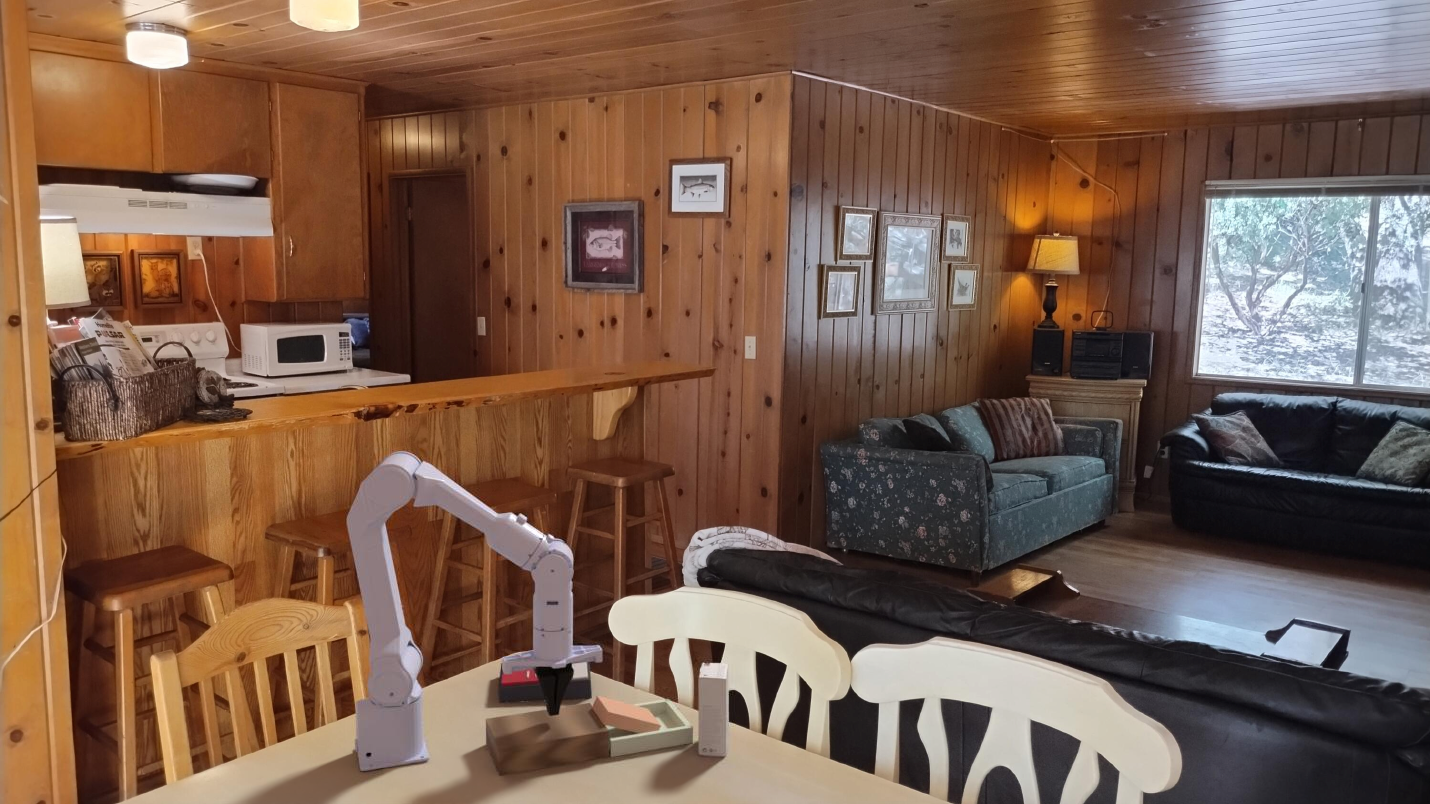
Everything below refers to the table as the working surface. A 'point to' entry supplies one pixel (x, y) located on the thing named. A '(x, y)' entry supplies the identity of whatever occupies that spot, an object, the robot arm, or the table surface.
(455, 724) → the table surface
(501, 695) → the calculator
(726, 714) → the skincare box
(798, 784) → the table surface
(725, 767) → the table surface
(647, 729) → the tile
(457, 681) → the table surface
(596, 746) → the brown wooden block
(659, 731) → the tray
